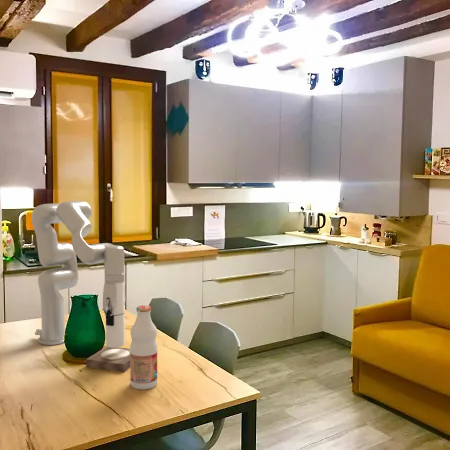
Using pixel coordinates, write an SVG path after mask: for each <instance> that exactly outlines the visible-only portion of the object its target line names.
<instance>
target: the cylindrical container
mask: <svg viewBox="0 0 450 450" xmlns="http://www.w3.org/2000/svg"><path fill="white" fill-rule="evenodd" d="M124 285H125V281H124V282H122V283H116V288H117V302H116V308H115V309H114V312H113V316H114V326H107V325H106V324H105V345H106V346H105V347H107V346H108V347H113V348H114V347H119V348H122V347H123V346H125V344H126V340H125V339H126V337H125V336H126V335H125V334H126V332H125V330H126V326H125V324H126V323H125V317H126V315H125V312H126V311H125V305H124ZM108 307H112V305H111V304H109V306H108ZM109 310H110V312H111V309H109Z"/></svg>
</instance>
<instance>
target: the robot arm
mask: <svg viewBox="0 0 450 450" xmlns="http://www.w3.org/2000/svg"><path fill="white" fill-rule="evenodd" d="M91 216H92V208H91V206H90V204H89V203H88V202H86V201H85V200H71V201H69V200H68V201H64V202H60V203H59V202H57V203H43V204H39V205H37V206H35V207H34V209H33V210H32V212H31V223H32V228H33V230H34V233H35V236H36V245H37V254H38V259H39V263H40V265H41V266H43V267H54V266H60V265H61V267H56V268H52V269H46V270H44V271H42V272H41V273H40V274H39V275H38V277H37V284H38V289H39V293H40V294H39V295H40V312H41V315H40V316H41V320H40V321H41V329H40V328H37V329H36V331H35V332H34V335H35V336H39V338H38V339H37V341H38V343H39V344H41V345H45V346H53V345H54V346H55V345H61V344H64V343H65V342H64V334H65V335H66V332H65V331H66V330H65V328H66V327H65V300H64V297H63V296H62V295H61V293H60V291H62V290H67V289H71V288H74V287H76V286H77V285H78V282H79V269H78V261H77V258H78V259H79V260H80V262H82V263H83V264H86V265H95V264H102V263H104V267H103V268H104V283H103V284H104V285H103V291H102V310H103V312H104V316H105V326H106V325H107V326H114V316H113V312H114V309H115V308H116V302H117V288H116V283H122V282H124V283H125V280H126V279H125V247H123V246H121V245H114V244H113V243H109V242H103V243H96V244H95V243H93V244H88V243H87V242H86V240H84V238H85V237H86V236H88V234H90V232H91V230H92V226H93V225H92V223H91V221H90V220H89V219H90V218H91ZM52 224H63V225H64V226H65V228H66V229H67V230H68V231H69V232H70V233H71V235H72V237H71V243H70V242H59V241H58V234H57V231H56V230H55V228H54V227H53V226H52ZM125 285H126V284H124V306H125V304H126V300H127V297H126V289H125V287H126V286H125ZM109 304H111V305H112V307H108V306H109ZM109 309H111V312H110V310H109Z"/></svg>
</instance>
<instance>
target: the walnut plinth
mask: <svg viewBox="0 0 450 450" xmlns="http://www.w3.org/2000/svg"><path fill="white" fill-rule="evenodd" d="M85 362H86V364H85V365H86V368H93V369H99V370H105V371H106V370H107V371H113V372H120V373H125V372H126V371H128V370H130V348H126V347H114V348H113V347H108V346H105V347H104V348H101V349H100V350H99V351H97V352H96V353H94V354H93V355H90V356H89V357H87V358H86V359H85Z"/></svg>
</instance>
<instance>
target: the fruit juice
mask: <svg viewBox="0 0 450 450" xmlns="http://www.w3.org/2000/svg"><path fill="white" fill-rule="evenodd" d="M151 312H152V309H151V306H149V305H147V304H146V305H142V304H141V305H138V306H137V307H136V313H137V315H136V317H135V318H136V319H135V322H134V324H132V326H131V327H130V339H131V341H130V342H131V343H130V346H129V349H130V368H129V371H130V372H129V377H130V379H129V380H130V381H129V382H130V387H131V388H133V389H135V390H141V391H142V390H150V389H153V388H155V387H156V386H157V385H158V342H157V341H156V338H157V334H158V329H157V327H156V325H155V323H154V322H153V321H152V317H151Z"/></svg>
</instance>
